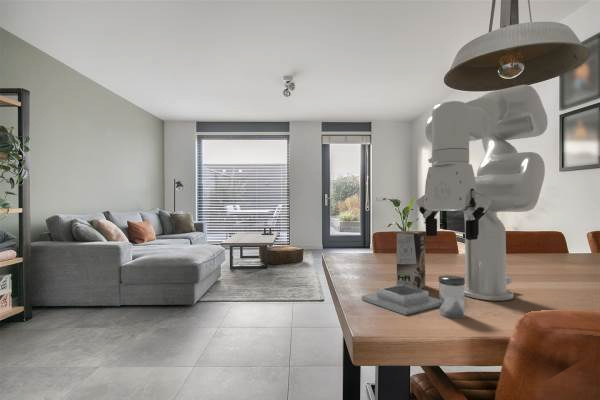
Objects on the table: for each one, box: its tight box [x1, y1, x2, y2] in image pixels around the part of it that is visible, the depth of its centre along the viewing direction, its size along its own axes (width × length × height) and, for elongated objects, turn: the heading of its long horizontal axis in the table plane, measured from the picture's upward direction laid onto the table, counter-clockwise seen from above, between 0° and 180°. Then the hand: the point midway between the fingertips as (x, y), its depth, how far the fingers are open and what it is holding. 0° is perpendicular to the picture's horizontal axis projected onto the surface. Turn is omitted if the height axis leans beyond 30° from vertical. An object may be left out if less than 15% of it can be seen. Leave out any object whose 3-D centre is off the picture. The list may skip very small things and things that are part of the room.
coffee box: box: [396, 230, 426, 290], centre depth 98 cm, size 9×6×16 cm
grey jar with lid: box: [438, 274, 466, 319], centre depth 73 cm, size 5×5×8 cm
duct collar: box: [361, 284, 440, 316], centre depth 83 cm, size 14×14×3 cm
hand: (450, 237), depth 73 cm, fingers open, 9 cm apart
